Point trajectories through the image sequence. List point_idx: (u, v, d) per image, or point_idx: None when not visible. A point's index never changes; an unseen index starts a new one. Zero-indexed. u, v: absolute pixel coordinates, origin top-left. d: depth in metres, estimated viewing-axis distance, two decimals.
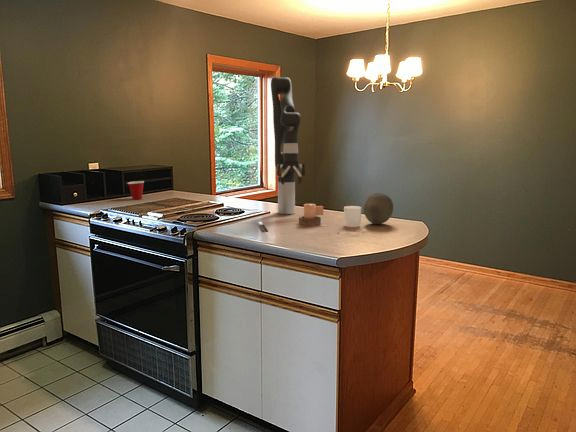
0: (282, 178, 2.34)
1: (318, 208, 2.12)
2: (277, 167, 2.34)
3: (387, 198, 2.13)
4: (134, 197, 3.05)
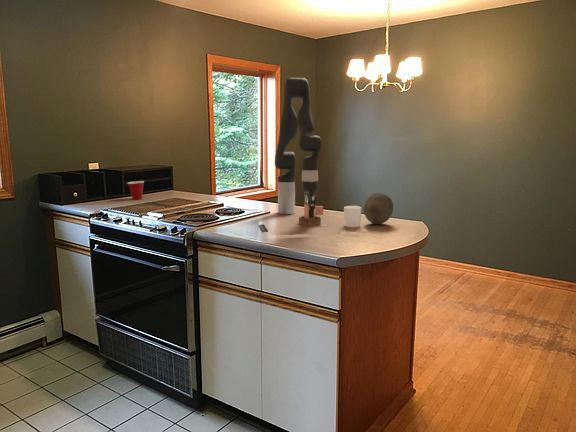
0: (313, 210, 2.09)
1: (318, 208, 2.12)
2: (312, 200, 2.05)
3: (387, 198, 2.13)
4: (134, 197, 3.05)
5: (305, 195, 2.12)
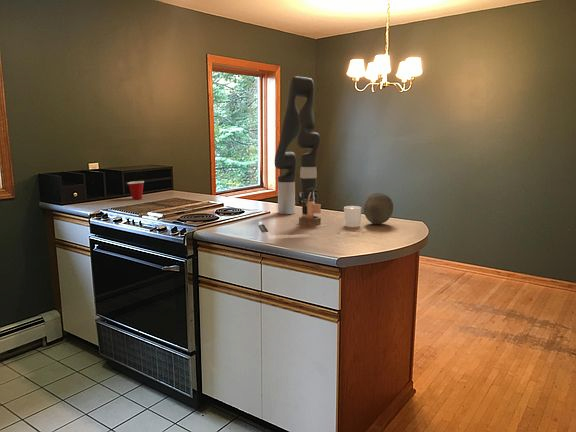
0: (306, 207, 2.09)
1: (314, 206, 2.09)
2: (299, 196, 2.06)
3: (387, 198, 2.13)
4: (134, 197, 3.05)
5: None
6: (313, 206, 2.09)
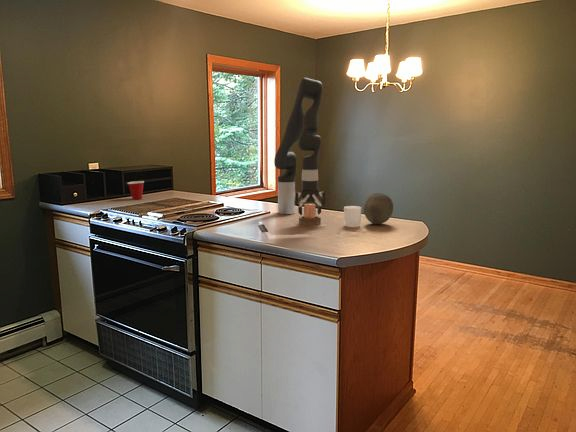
0: (300, 208, 2.11)
1: (310, 209, 2.08)
2: (295, 196, 2.10)
3: (387, 198, 2.13)
4: (134, 197, 3.05)
5: None
6: (309, 209, 2.09)
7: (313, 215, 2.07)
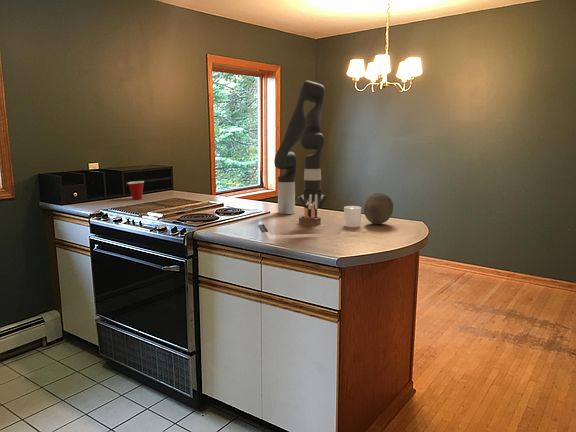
0: (309, 210, 2.06)
1: None
2: None
3: (387, 198, 2.13)
4: (134, 197, 3.05)
5: None
6: None
7: (313, 215, 2.07)
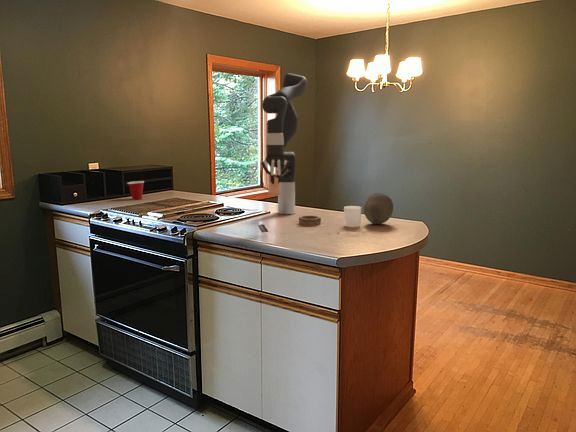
0: (272, 176, 2.01)
1: None
2: (262, 166, 2.00)
3: (387, 198, 2.13)
4: (134, 197, 3.05)
5: None
6: None
7: (277, 184, 2.00)
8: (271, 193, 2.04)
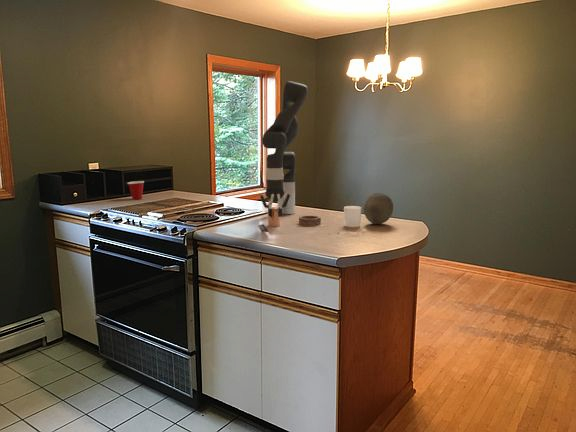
0: (270, 210, 2.03)
1: (273, 213, 2.04)
2: (261, 198, 2.03)
3: (387, 198, 2.13)
4: (134, 197, 3.05)
5: None
6: (273, 213, 2.05)
7: (276, 219, 2.03)
8: None
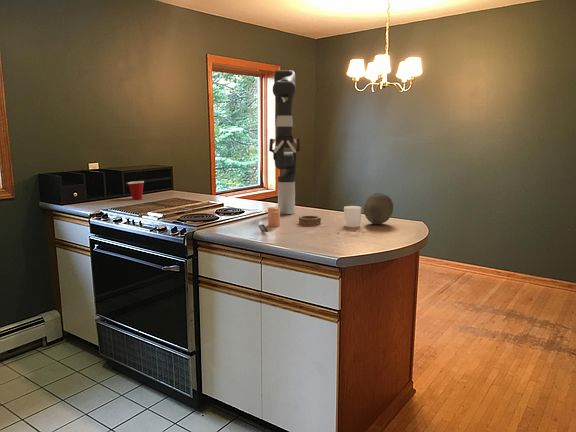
0: (275, 154, 2.14)
1: (273, 213, 2.04)
2: None
3: (387, 198, 2.13)
4: (134, 197, 3.05)
5: None
6: (273, 213, 2.05)
7: (276, 219, 2.03)
8: None
